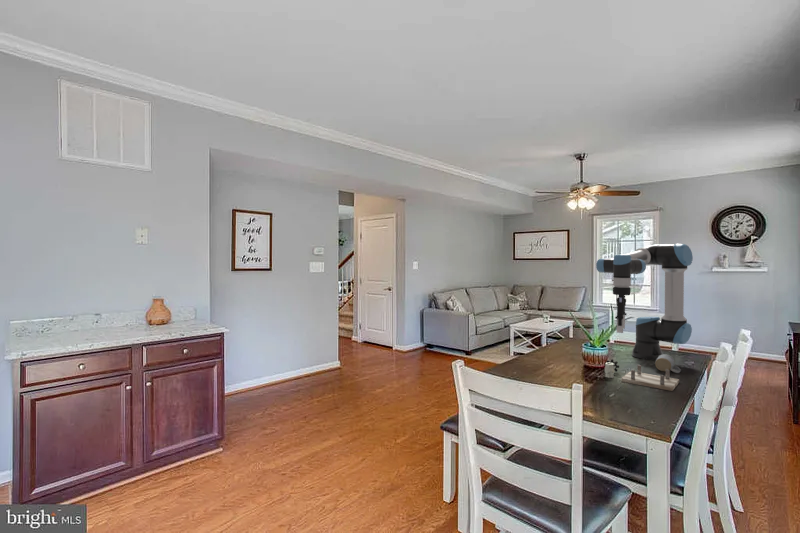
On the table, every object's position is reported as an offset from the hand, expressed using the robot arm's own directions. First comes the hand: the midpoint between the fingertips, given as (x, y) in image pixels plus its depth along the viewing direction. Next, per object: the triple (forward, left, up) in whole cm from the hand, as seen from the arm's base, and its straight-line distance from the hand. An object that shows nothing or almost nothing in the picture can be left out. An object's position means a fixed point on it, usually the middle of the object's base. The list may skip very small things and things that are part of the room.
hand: (620, 330), depth 199 cm
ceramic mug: (-27, +15, -23) cm, 38 cm away
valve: (+1, -4, -23) cm, 23 cm away
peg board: (0, +13, -22) cm, 26 cm away
